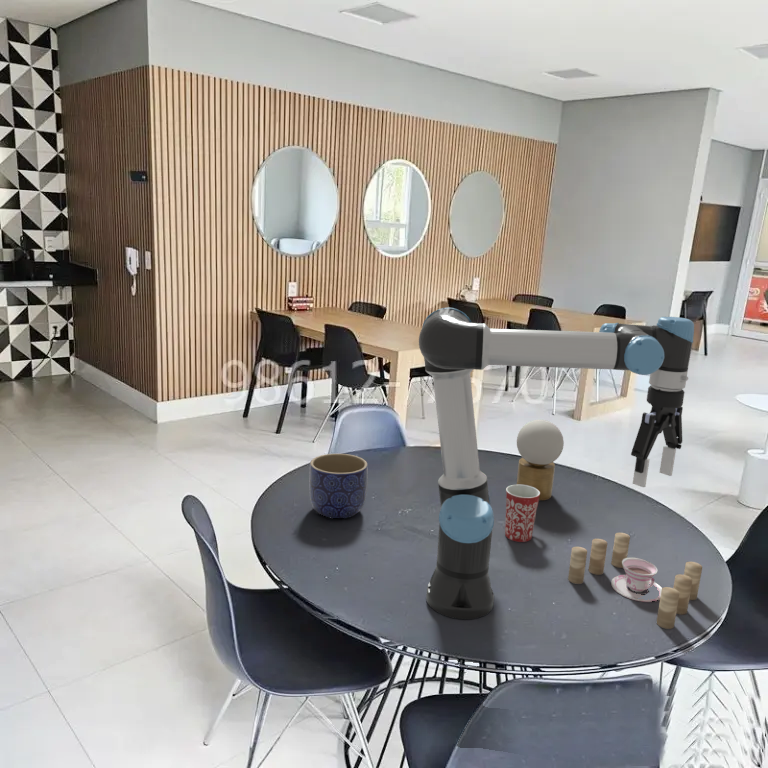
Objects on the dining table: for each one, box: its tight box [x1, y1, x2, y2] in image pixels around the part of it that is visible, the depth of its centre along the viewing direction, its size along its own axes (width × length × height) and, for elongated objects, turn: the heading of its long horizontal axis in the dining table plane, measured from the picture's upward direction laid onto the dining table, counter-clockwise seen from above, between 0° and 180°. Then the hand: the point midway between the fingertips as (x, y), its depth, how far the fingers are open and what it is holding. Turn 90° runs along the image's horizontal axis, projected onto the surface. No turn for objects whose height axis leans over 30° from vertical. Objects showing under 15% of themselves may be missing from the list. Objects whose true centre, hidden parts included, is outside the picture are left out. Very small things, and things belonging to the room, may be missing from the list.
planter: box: [308, 453, 369, 519], centre depth 198 cm, size 17×16×15 cm
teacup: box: [610, 557, 663, 603], centre depth 165 cm, size 12×12×6 cm
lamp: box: [515, 419, 565, 502], centre depth 215 cm, size 15×14×25 cm
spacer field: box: [567, 532, 703, 630], centre depth 164 cm, size 20×27×8 cm
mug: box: [504, 483, 540, 543], centre depth 189 cm, size 13×9×14 cm
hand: (652, 479), depth 158 cm, fingers open, 11 cm apart
